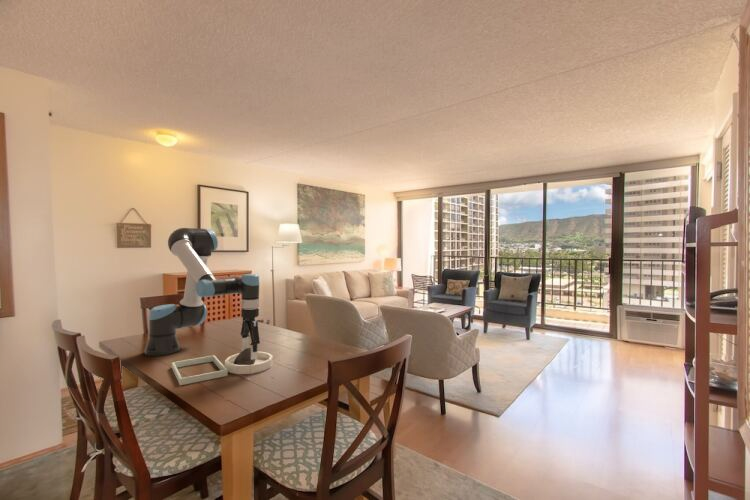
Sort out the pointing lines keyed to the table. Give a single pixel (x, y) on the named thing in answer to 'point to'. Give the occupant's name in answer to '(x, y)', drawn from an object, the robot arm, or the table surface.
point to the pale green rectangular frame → (202, 376)
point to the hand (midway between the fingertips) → (249, 355)
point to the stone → (244, 358)
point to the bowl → (259, 365)
